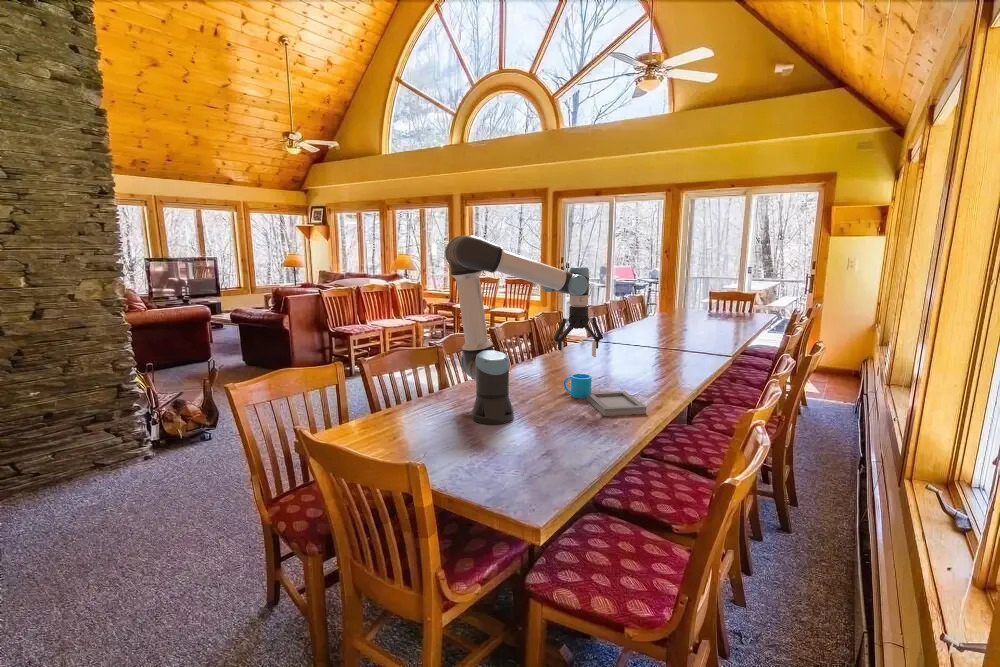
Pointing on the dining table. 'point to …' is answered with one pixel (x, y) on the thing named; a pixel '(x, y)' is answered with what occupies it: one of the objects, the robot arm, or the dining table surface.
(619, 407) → the tray
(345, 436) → the dining table surface
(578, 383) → the mug
